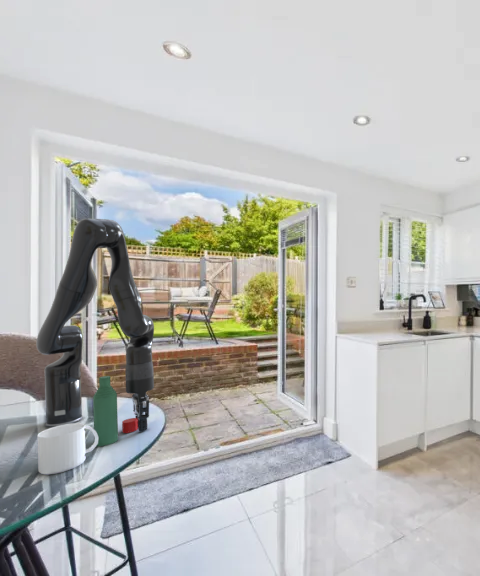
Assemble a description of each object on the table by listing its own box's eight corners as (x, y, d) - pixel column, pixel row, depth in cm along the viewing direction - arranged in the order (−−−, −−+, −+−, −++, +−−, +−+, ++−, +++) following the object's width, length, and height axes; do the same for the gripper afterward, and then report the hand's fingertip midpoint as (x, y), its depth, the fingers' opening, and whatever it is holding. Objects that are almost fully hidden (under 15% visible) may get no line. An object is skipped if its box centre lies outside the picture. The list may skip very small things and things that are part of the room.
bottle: (93, 442, 105) (91, 377, 105) (116, 436, 109) (115, 373, 108) (95, 448, 101) (93, 380, 101) (119, 441, 105) (117, 376, 104)
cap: (126, 433, 110) (126, 423, 110) (119, 431, 112) (119, 421, 112) (140, 429, 114) (140, 419, 114) (133, 427, 116) (133, 417, 116)
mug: (39, 479, 85) (38, 440, 84) (37, 466, 91) (36, 430, 91) (102, 460, 93) (101, 425, 93) (96, 449, 100) (95, 417, 99)
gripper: (158, 377, 112) (159, 430, 112) (149, 370, 122) (150, 419, 122) (129, 382, 106) (131, 438, 106) (122, 375, 117) (123, 426, 117)
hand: (141, 428), depth 114 cm, fingers open, 4 cm apart
